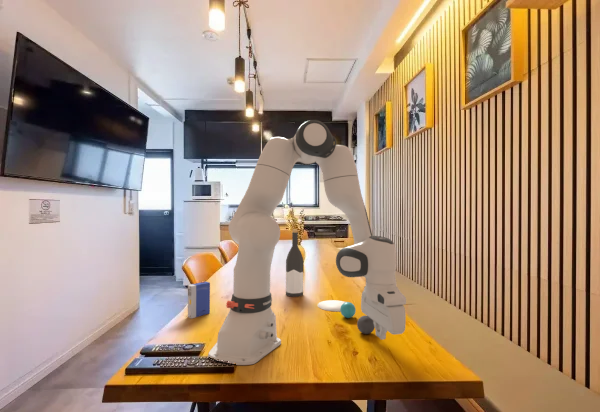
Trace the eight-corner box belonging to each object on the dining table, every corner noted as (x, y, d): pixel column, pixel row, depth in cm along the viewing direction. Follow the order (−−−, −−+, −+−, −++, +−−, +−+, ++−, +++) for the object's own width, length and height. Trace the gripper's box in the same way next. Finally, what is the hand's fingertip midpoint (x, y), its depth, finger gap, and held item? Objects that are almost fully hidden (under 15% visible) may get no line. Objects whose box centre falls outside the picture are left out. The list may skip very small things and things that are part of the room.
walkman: (205, 311, 125) (205, 280, 125) (209, 313, 123) (210, 281, 123) (186, 316, 119) (187, 284, 119) (190, 318, 118) (191, 285, 117)
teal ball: (354, 320, 117) (354, 305, 117) (339, 319, 118) (339, 303, 118) (356, 315, 122) (356, 300, 122) (341, 314, 124) (341, 299, 124)
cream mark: (349, 313, 125) (349, 312, 125) (314, 309, 129) (314, 308, 129) (353, 302, 139) (353, 301, 139) (321, 299, 143) (321, 299, 143)
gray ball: (374, 337, 102) (374, 319, 102) (356, 335, 104) (356, 318, 104) (375, 331, 108) (375, 314, 108) (357, 329, 109) (358, 312, 109)
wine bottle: (303, 292, 154) (304, 228, 153) (302, 297, 146) (303, 230, 145) (286, 291, 154) (287, 228, 154) (284, 296, 146) (285, 229, 146)
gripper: (356, 283, 106) (356, 325, 106) (389, 302, 86) (388, 353, 87) (373, 282, 108) (373, 323, 108) (409, 300, 88) (409, 351, 88)
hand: (380, 337), depth 97 cm, fingers closed
